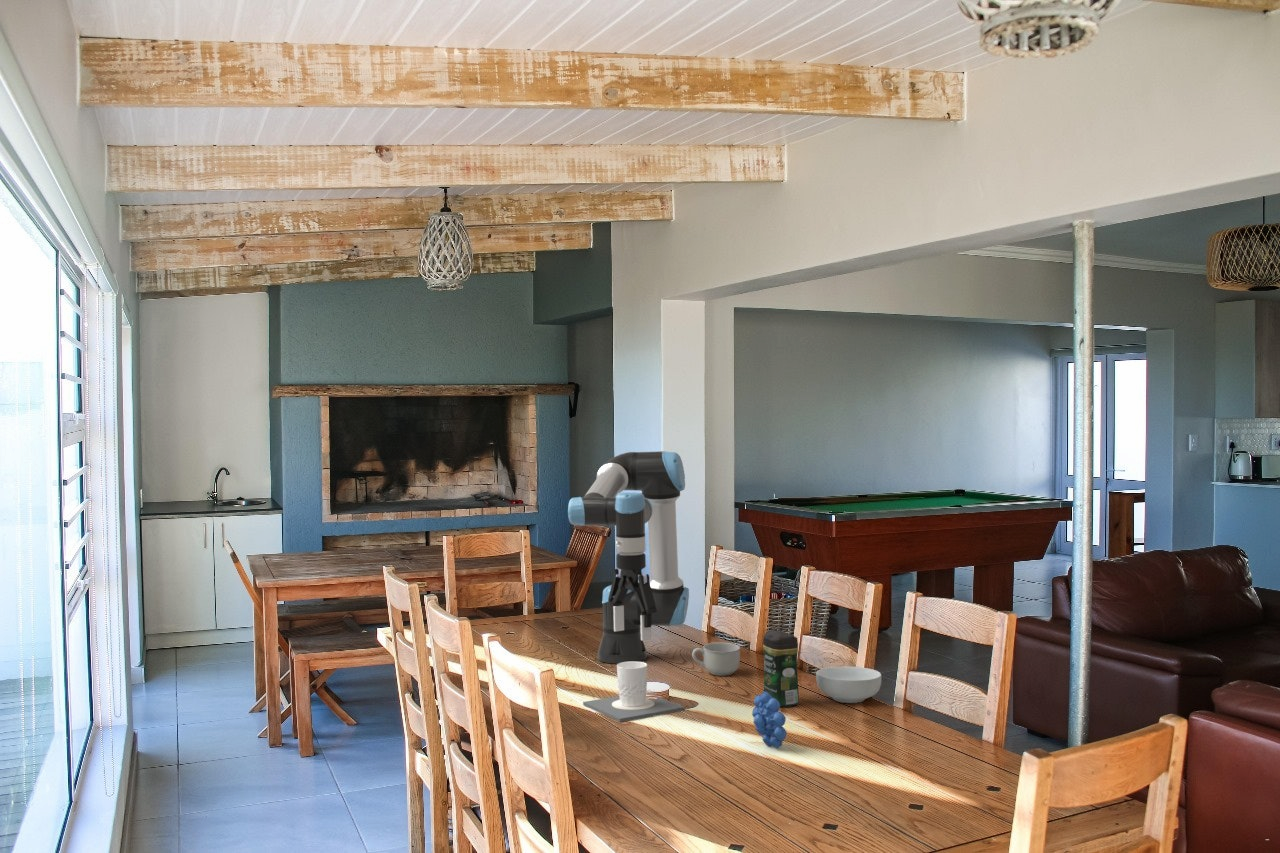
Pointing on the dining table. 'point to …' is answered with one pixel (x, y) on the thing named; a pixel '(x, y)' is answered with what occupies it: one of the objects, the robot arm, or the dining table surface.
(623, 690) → the white cup
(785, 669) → the coffee jar
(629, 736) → the dining table surface
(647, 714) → the mat
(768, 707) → the grapes
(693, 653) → the teacup
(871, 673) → the cereal bowl
